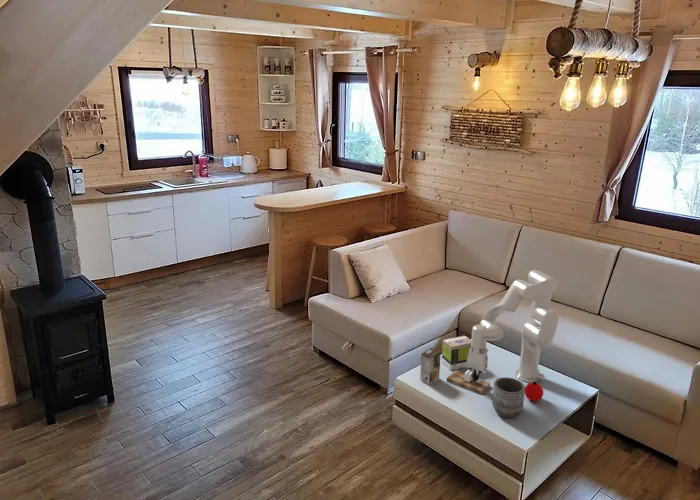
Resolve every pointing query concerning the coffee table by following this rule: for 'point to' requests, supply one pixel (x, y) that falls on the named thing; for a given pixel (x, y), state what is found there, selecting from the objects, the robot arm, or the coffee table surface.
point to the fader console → (477, 386)
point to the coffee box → (430, 366)
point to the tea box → (455, 352)
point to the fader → (468, 376)
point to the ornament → (533, 391)
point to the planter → (508, 397)
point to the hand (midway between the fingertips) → (475, 380)
